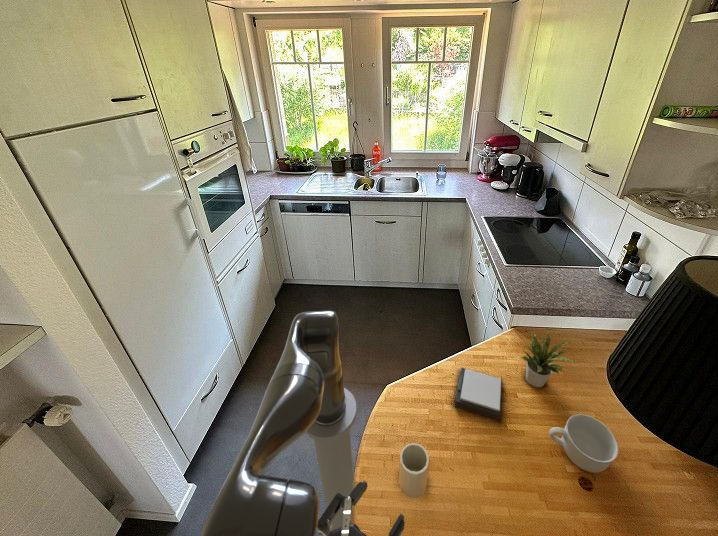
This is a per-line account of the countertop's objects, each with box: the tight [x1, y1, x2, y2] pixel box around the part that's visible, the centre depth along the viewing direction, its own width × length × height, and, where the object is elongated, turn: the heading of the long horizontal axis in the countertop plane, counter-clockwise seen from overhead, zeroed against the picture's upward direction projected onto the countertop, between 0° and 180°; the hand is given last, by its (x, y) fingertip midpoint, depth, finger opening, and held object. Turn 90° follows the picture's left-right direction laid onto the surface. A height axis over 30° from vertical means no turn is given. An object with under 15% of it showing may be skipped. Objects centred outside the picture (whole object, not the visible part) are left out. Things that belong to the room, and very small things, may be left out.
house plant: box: [519, 329, 576, 388], centre depth 94 cm, size 14×14×16 cm
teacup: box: [548, 413, 619, 473], centre depth 78 cm, size 14×11×8 cm
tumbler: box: [398, 442, 430, 499], centre depth 72 cm, size 6×6×10 cm
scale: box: [454, 367, 503, 421], centre depth 93 cm, size 12×12×3 cm
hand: (383, 499), depth 60 cm, fingers open, 8 cm apart
